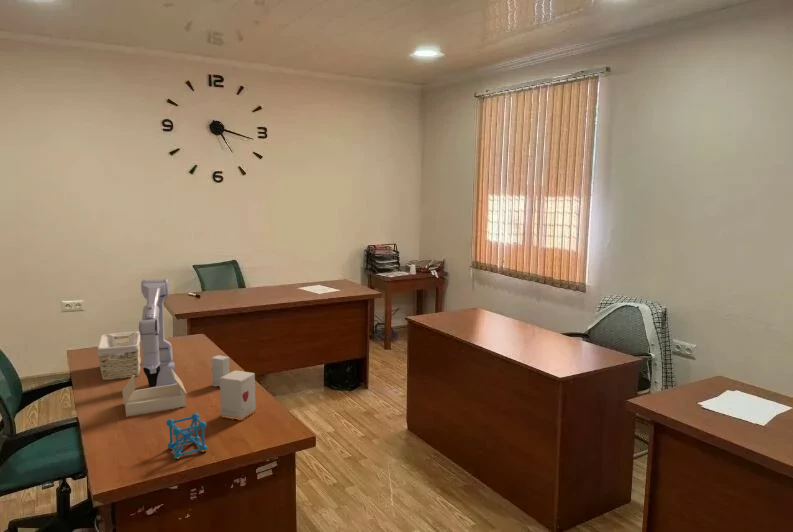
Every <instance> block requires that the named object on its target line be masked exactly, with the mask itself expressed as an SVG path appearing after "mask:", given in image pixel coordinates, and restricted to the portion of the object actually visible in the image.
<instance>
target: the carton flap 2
mask: <svg viewBox="0 0 793 532" xmlns="http://www.w3.org/2000/svg"><path fill="white" fill-rule="evenodd" d="M171 371H172V374H173V377H174V380H175V381H176V384H178V385H179V387H180V388H181V389H182V390H183V392H184V394H185V395H187V394H188V393H187V391H186V389H185V387H184V386H185V385H184V384H183V381H182V380H181V379H180V377H179V376H178V375H177V374H176V371H175V372H174V371H173V370H172V368H171Z"/></svg>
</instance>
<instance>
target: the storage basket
mask: <svg viewBox="0 0 793 532" xmlns="http://www.w3.org/2000/svg"><path fill="white" fill-rule="evenodd" d="M120 339H122V340H123V339H128V341H126V342H116V341H115V340H120ZM140 345H141V339H140V333H139V330H138V331H124V332H123V331H122V332H113V333H104V334H101V336H100V338H99V341H98V345H97V349H96V350H97V357H98V361H99V367H100V369H99V370H100V375H101V378H102V380H103V381H109V380H116V379H117V380H118V379H119V378H120V379H128V378H131V377H132V376H133V375H134V376H135V377H138V376H139V375H140V373H141V367H140V365H139V364H140V363H142V362H141V361H142V360H141V346H140ZM127 377H128V378H127Z"/></svg>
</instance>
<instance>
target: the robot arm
mask: <svg viewBox="0 0 793 532" xmlns="http://www.w3.org/2000/svg"><path fill="white" fill-rule="evenodd" d="M140 282H141V283H140V289H141V293H142V295H143V297H144V300H146V305H144V307H142V315H141V320H140V321H139V322H138V332H139V333H140V342H141V353H142V355H141V357H142V362H141V363H140V364H139V365H140V368H141V367H143V368H142V371H143V373H144V375H145V376H146V379H147V383H148V385H149V388H153V387H160V386H166V385H173V384H177V383H176V381H175V380H174V377H173V374H172V371H171V368H172V370H173V371H174V372H175V373H176V366H175V362H174V361H173V358H174V355H173V353H174V352H173V345H172V343H171V342H170V341H169V340H167V339H165V318H164V316H165V315H164V314H165V313H164V303H165V300H167V299H169V296H170V283H169V279H168V278H158V279H157V278H155V279H153V278H151V279H149V278H148V279H142V280H141V281H140Z"/></svg>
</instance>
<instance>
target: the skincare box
mask: <svg viewBox="0 0 793 532" xmlns="http://www.w3.org/2000/svg"><path fill="white" fill-rule="evenodd" d="M210 361H211V376H212V377H211V379H212V381H211V382H212V386H213V385H217V386H220V378H221V377H223V376H225V375H226V374H228V373H231V369H230V357H229V356H225V355H219V354H218V355H215V356H213V357H211V360H210ZM217 386H216V387H217Z"/></svg>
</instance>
